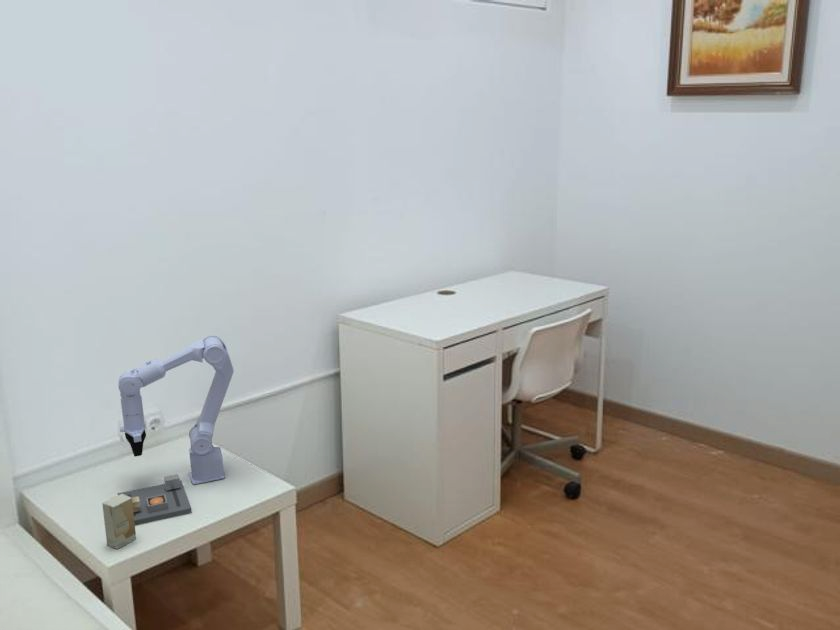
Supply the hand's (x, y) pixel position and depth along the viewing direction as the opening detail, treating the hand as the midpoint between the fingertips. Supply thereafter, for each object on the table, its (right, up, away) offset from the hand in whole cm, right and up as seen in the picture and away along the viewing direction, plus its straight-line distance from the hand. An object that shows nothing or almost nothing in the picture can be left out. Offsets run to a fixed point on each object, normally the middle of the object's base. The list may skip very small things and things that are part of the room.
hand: (137, 455), depth 231 cm
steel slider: (+11, -9, -1) cm, 14 cm away
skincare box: (+5, -18, -26) cm, 32 cm away
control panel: (+7, -13, -8) cm, 17 cm away
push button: (+10, -12, -11) cm, 19 cm away
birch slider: (+4, -13, -14) cm, 19 cm away
